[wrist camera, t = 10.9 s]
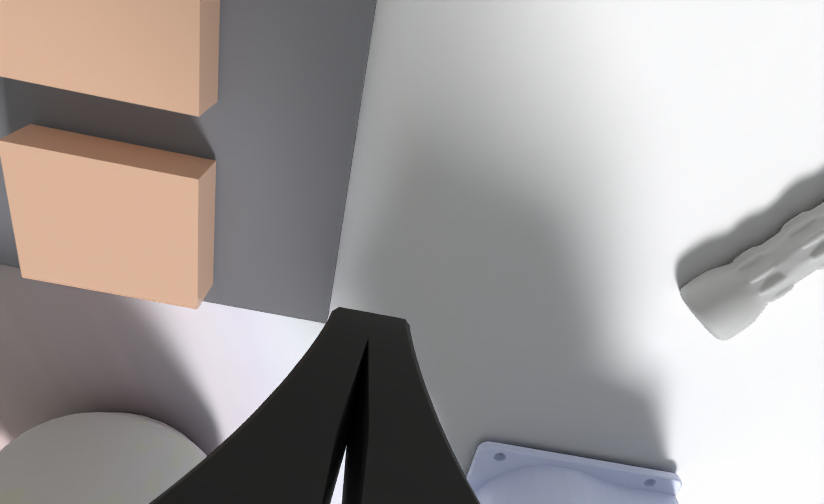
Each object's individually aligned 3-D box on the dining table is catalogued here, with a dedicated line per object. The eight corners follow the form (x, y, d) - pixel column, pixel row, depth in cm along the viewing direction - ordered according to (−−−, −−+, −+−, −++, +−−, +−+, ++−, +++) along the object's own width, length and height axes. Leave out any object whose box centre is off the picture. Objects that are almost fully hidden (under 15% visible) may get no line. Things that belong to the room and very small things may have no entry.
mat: (389, -86, 16) (388, -86, 15) (328, 317, 23) (326, 323, 22) (-144, -208, 15) (-158, -212, 14) (-36, 250, 22) (-44, 256, 21)
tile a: (198, 179, 17) (-3, 140, 17) (197, 309, 20) (21, 277, 20) (217, 158, 19) (33, 122, 19) (214, 281, 21) (51, 251, 21)
